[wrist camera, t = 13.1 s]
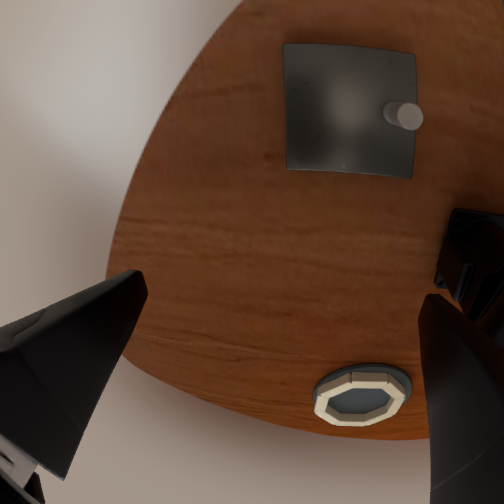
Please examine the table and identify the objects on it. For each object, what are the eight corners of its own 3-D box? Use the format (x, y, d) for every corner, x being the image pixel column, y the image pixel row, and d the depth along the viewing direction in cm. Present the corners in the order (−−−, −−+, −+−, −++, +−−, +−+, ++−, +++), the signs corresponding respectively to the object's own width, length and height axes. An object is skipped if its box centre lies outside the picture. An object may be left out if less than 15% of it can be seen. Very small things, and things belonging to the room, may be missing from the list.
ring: (413, 372, 24) (415, 381, 23) (387, 418, 29) (387, 426, 28) (322, 369, 26) (321, 379, 25) (312, 416, 31) (311, 424, 30)
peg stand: (411, 56, 13) (436, 45, 9) (407, 175, 17) (430, 197, 13) (284, 46, 14) (272, 30, 11) (288, 166, 18) (278, 185, 15)
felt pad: (425, 363, 24) (426, 366, 23) (393, 417, 29) (393, 420, 29) (319, 360, 26) (319, 364, 26) (308, 415, 32) (308, 418, 31)
